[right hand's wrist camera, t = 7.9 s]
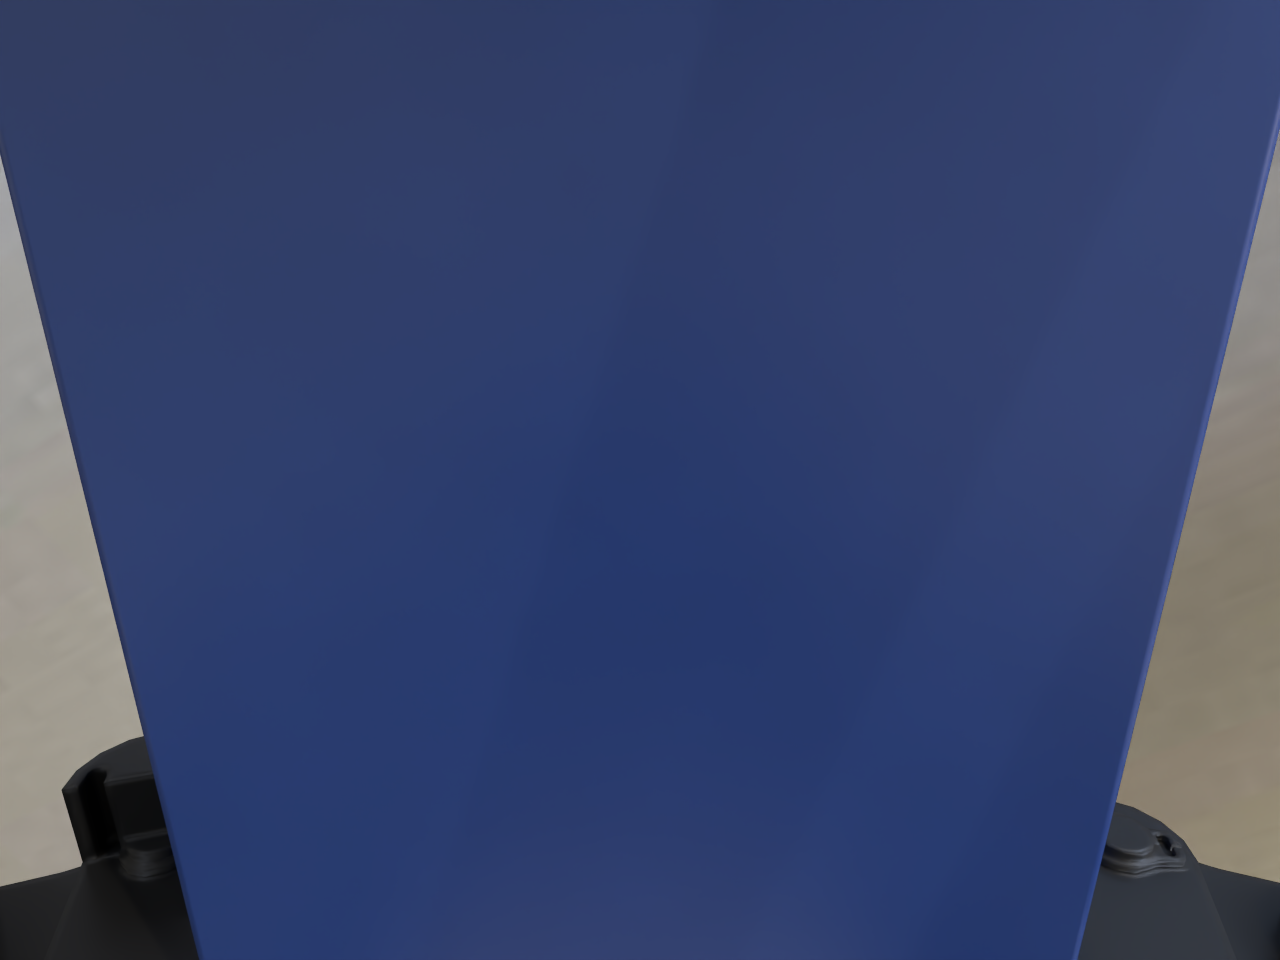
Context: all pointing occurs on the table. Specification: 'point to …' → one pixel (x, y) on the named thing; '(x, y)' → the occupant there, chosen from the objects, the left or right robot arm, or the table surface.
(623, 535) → the bar
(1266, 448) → the table surface
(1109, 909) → the right robot arm
